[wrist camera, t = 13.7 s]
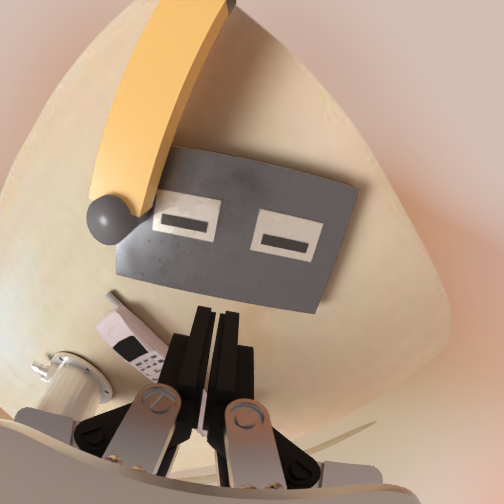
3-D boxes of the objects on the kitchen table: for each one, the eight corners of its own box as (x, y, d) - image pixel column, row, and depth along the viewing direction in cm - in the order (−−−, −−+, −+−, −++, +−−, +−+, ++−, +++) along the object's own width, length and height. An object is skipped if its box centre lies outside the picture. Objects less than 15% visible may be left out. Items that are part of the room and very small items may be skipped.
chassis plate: (123, 266, 29) (114, 275, 27) (133, 140, 24) (123, 140, 21) (311, 304, 31) (315, 315, 29) (351, 185, 26) (360, 190, 24)
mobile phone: (204, 438, 35) (70, 333, 26) (207, 409, 40) (89, 306, 32) (235, 429, 33) (94, 313, 25) (236, 399, 39) (114, 286, 30)
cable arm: (148, 232, 25) (128, 254, 21) (105, 216, 24) (79, 233, 20) (236, 7, 17) (233, -19, 12) (186, -3, 16) (173, -28, 11)
